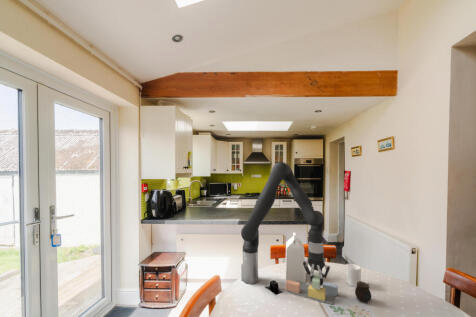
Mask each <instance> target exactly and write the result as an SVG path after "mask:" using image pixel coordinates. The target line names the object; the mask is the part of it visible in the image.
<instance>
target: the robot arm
mask: <svg viewBox="0 0 476 317" xmlns="http://www.w3.org/2000/svg"><path fill="white" fill-rule="evenodd" d="M282 181H283V182H284V183H285V184H286V185H287V187H288V189H289V191H290V193H291V195H292V198H293V200H294V201H295V203H296V204H297V205H298V207H299V209H300V210H301V212H302V215H303V217H304V220H305V221H306V223H307V224H308V225H309V226H310V229H309V230H308V244H307V245H308V247H307V249H308V252H307V253H308V259H307V260H305V261H304V262H303V265H304V268H305V274H306V275H309V276H310V278H309V279H310V283H312V279H313V277H314V273H315V271H317V273H318V274H319V275H320V285H321V287H323V282H324V279H326V278H327V276H328V274H329V272H330V269H331V266H330V265H327V264H326V262H325V259H324V258H325V257H324V255H325V254H324V251H325V250H324V240H323V239H324V237H323V231H324V226H325V223H324V222H325V218H324V214H323V213H322V212H321V211H320V210H314V208H313V202H312V200H311V198H309V196H308V194H306V192H305V191H304V189H303V187H302V186H301V185H300V184H299V182H298V180H297V178H296V176H295V174H294V172H293V170H292V167H291V166H290V165H289V164H288V163H286V162H283V161H278V162H276V163H274V165H273V166H272V168H271V171H270V174H269V176H268V179H267V181H266V183H265V185H264V186H263V189H262V191H261V192H260V194H259V196H258V198H257V200H256V202H255V204H254V207H253V209H252V211H251V214H250V216H249V217H248V219H247V221H246V223H244V226H243V227H242V229H241V231H240V234H241V237H242V240H243V245H242V263H241V265H240V266H241V269H240V270H241V273H240V274H241V276H240V277H241V279H240V280H241V281H243V282H244V283H245V284H247V285H248V284H249V285H253V284H256V283H258V282H259V245H260V244H259V243H260V240H259V239H260V237H259V236H260V233H259V232H260V231H259V228H260V226H261V223H262V222H263V220H264V219H265V218H266V217H267V215H268V213H269V212H270V211H271V209H272V208H273V205H274V204H275V200H276V197H277V193H278V189H279V186H280V185H281V183H282ZM309 267H310V268H309ZM323 268H324V269H325V272H323Z"/></svg>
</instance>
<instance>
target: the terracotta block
mask: <svg viewBox="0 0 476 317" xmlns="http://www.w3.org/2000/svg"><path fill="white" fill-rule="evenodd" d="M300 283H301V282H300ZM300 283H299V281H296V282H295V281H291V280H285V290H286V291H288V292H289V291H292V292H295V293H299V292H300Z"/></svg>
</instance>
